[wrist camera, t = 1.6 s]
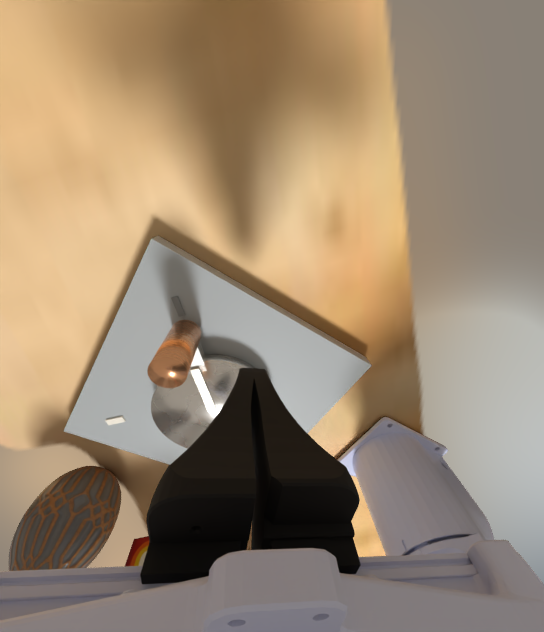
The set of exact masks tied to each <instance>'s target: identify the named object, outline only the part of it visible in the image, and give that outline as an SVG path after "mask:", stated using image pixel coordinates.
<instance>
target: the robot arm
mask: <svg viewBox="0 0 544 632" xmlns="http://www.w3.org/2000/svg"><path fill="white" fill-rule="evenodd" d="M447 451H448V450H447V448H446V447H445V446H443V445H441V444H439V443H438V442H436V441H434V440H432V439H430V438H428V437H426V436H424V435H422V434H420V433H418V432H416V431H414V430H412V429H410V428H408V427H406V426H404V425H402V424H400V423H398V422H396V421H394V420H392V419H390V418H388V417H383V418H381V419H380V420H379V421H378V422H377V423H376V424H375V425H374V426H373V427H372V428H371V429H370V430H369V431H367V432H366V433H365V434H364V435H363V436H362V437H361V438H360V439H359V440H358V441H357V442H356V443H355V444H354V445H353V446H351V447H350V448H349V449H348V450H347V451H346V452H345V453H344V454H343V455H342V456H341V457H340V458H339V459H338V460H337V459H335V458H334V457H333V456H331V455H330V454H329V453H328V452H326V451H325V450H324V449H323V448H322V447H321V446H319V445H318V444H317V443H316V442H315V441H314V440H313V439H312V438H311V437H310V436H309V435H308V434H307V433H306V432H305V431H304V429H303V428H302V427H301V426H300V425H299V424H298V423H297V421H296V420H295V419H294V418H293V416H292V415H291V414H290V412H289V411H288V409H287V408H286V406H285V405H284V403H283V402H282V400H281V399H280V397H279V395H278V394H277V392H276V390H275V388H274V386H273V384H272V382H271V380H270V378H269V376H268V374H267V371H266V370H265V369H258V368H240V369H239V373H238V377H237V380H236V382H235V384H234V387H233V389H232V391H231V393H230V395H229V396H228V398H227V400H226V402H225V403H224V405H223V407H222V408H221V410H220V411H219V413H218V414H217V416H216V417H215V418H214V420H213V421H212V422H211V423H210V425H209V426H208V427H207V428H206V430H205V431H204V432H203V433H202V434H201V435H200V437H199V438H198V439H197V440H196V441H195V442H194V443H193V444H192V445H191V446H190V447H189V448H188V449H187V450H186V451H185V452H184V453H183V454H182V455H180V456H179V457H178V458H177V459H176V460H175V461H174V462H173V463H171V464H170V465H169V466H168V468H167V470H166V471H165V473H164V475H163V477H162V478H161V480H160V482H159V484H158V486H157V488H156V491H155V493H154V495H153V498H152V501H151V504H150V507H149V510H148V513H147V528H148V535H149V546H148V549H147V553H146V556H145V560H144V563H143V566H124V567H101V568H74V569H49V570H24V571H0V632H544V584H543V583H542V581H541V580H540V579H539V578H538V576H537V575H536V574H535V573H534V571H533V570H532V569H531V568H530V566H529V565H528V564H527V563H526V561H525V560H524V559H523V558H522V557H521V555H520V554H518V552H516V551H515V549H514V548H513V547H512V545H511V544H510V543H509V541H507V540H494V537H493V533H492V530H491V527H490V524H489V522H488V520H487V519H486V517H485V515H484V514H483V512H482V511H481V510H480V508H479V507H478V505H477V504H476V503H475V501H474V500H473V499H472V497H471V496H470V495H469V493H468V492H467V491H466V489H465V488H464V486H463V485H462V484H461V482H460V481H459V479H458V478H457V477H456V475H455V474H454V473H453V471H452V470H451V469H450V467H449V466H448V464H447V463H446V462H445V461H444V459H443V458H442V456H443V455H444V454H446V453H447ZM350 475H352V476H355V477H357V479H358V482H359V485H360V487H361V490H362V493H363V495H364V498H365V501H366V503H367V506H368V509H369V511H370V514H371V517H372V519H373V522H374V525H375V527H376V530H377V533H378V535H379V538H380V541H381V543H382V546H383V548H384V551H385V554H386V556H374V557H358V554H357V550H356V547H355V544H354V540H353V537H354V529H353V526H352V523H351V520H352V518H353V516H354V514H355V512H356V509H357V507H358V504H359V495H358V492H357V489H356V487H355V484H354V482H353V480H352V478H351V476H350ZM251 523H252V549H251V550H246V548H247V542H248V540H249V535H250V529H251Z"/></svg>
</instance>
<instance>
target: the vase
mask: <svg viewBox="0 0 544 632" xmlns="http://www.w3.org/2000/svg"><path fill="white" fill-rule="evenodd" d="M120 503H121V490H120V486H119V483H118V481H117V479H116V477H115V476H114V475H113V474H112V473H111V472H110V471H108V470H106V469H104V468H101V467H96V466H85V467H81V468H78V469H75V470H72V471H70V472H68V473H66V474H64V475H62V476H60V477H59V478H57V479H56V480H55V481H53V482H52V483H51V484H50V485H49V486H48V487H47V488H45V489H44V490H43V492H41V493H40V495H39V496H38V497H37V498H36V499H35V501H34V502H33V503H32V505H31V506H30V507H29V509H28V510H27V511H26V513H25V514H24V516H23V518H22V520H21V522H20V523H19V525H18V527H17V530H16V532H15V535H14V537H13V540H12V543H11V547H10V552H9V571H24V570H49V569H74V568H86V567H87V566H88V565H89V564H90V563H91V562H92V561H93V560H94V559H95V557H96V556H97V555H98V554H99V552H100V551H101V549H102V548H103V546H104V545H105V543H106V541H107V540H108V538H109V536H110V534H111V532H112V530H113V528H114V525H115V522H116V520H117V517H118V514H119V509H120Z"/></svg>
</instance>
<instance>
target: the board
mask: <svg viewBox="0 0 544 632" xmlns="http://www.w3.org/2000/svg"><path fill="white" fill-rule="evenodd" d="M180 320H190V321H193V322H194V323H196V324H197V325H198V326H199V327H200V329H201V339H200V341H199V342H200V344H201V347H202V349H203V352H204V354H223V355H229V356H233V357H236V358H239V359H241V360H244V361H246V362H248V363H249V364H251V365H252V366H254V367H255V368H258V369H265V370H266V371H267V374H268V376H269V378H270V380H271V382H272V384H273V386H274V388H275V390H276V392H277V394H278V395H279V397H280V399H281V400H282V402H283V403H284V405H285V406H286V408H287V409H288V411H289V412H290V414H291V415H292V416H293V418H294V419H295V420H296V421H297V423H298V424H299V425H300V426H301V427H302V428H303V429H304V431H305V432H306V433H308V432H309V431H310V430H311V429H312V428H313V427H314V426H315V425H316V424H317V423H318V422H319V421H320V420H321V419H322V417H323V416H324V415H325V414H326V413H327V412H328V411H329V410H330V409H331V408H332V407H333V406H334V405H335V404H336V403H337V402H338V401H339V400H340V399H341V397H342V396H343V395H344V394H345V393H346V392H347V391H348V390H349V389H350V388H351V387H352V386H353V385H354V384H355V383H356V382H357V381H358V380H359V379H360V378H361V376H362V375H363V374H364V373H365V372H366V371H367V370H368V369H369V368H370V367H371V366H372V365H371V364H370V362H369V361H368V359H367V358H366V357H365V356H363V355H362V354H360V353H358V352H357V351H355V350H353V349H351V348H350V347H348V346H346V345H345V344H343V343H341V342H339V341H338V340H336V339H334V338H333V337H331V336H329V335H327V334H326V333H324V332H322V331H321V330H319V329H317V328H315V327H314V326H312V325H310V324H309V323H307V322H305V321H304V320H302V319H300V318H298V317H297V316H295V315H293V314H292V313H290V312H288V311H286V310H285V309H283V308H281V307H280V306H278V305H276V304H274V303H273V302H271V301H269V300H268V299H266V298H264V297H262V296H261V295H259V294H257V293H256V292H254V291H252V290H250V289H249V288H247V287H245V286H244V285H242V284H240V283H238V282H237V281H235V280H233V279H232V278H230V277H228V276H227V275H225V274H223V273H221V272H220V271H218V270H216V269H215V268H213V267H211V266H209V265H208V264H206V263H204V262H203V261H201V260H199V259H197V258H196V257H194V256H192V255H191V254H189V253H187V252H185V251H184V250H182V249H180V248H179V247H177V246H175V245H173V244H172V243H170V242H168V241H167V240H165V239H163V238H161V237H160V236H156V237H154V238H151V240H150V243H149V245H148V247H147V249H146V251H145V254H144V256H143V258H142V260H141V262H140V264H139V267H138V269H137V271H136V273H135V275H134V278H133V280H132V282H131V284H130V286H129V289H128V291H127V293H126V295H125V297H124V300H123V302H122V304H121V306H120V308H119V310H118V313H117V315H116V317H115V319H114V321H113V324H112V326H111V328H110V330H109V332H108V335H107V337H106V339H105V341H104V343H103V346H102V348H101V350H100V352H99V354H98V356H97V359H96V361H95V363H94V365H93V367H92V370H91V372H90V374H89V376H88V378H87V381H86V383H85V385H84V387H83V389H82V392H81V394H80V396H79V398H78V400H77V402H76V405H75V407H74V409H73V411H72V413H71V416H70V418H69V420H68V422H67V424H66V427H65V429H64V432H67V433H70V434H74V435H77V436H80V437H83V438H86V439H89V440H93V441H96V442H99V443H102V444H105V445H109V446H112V447H115V448H118V449H121V450H124V451H128V452H131V453H134V454H137V455H140V456H144V457H147V458H150V459H153V460H156V461H159V462H163V463H166V464H169V465H170V464H171V463H173V462H174V461H175V460H176V459H177V458H178V457H179V456H180V455H182V454H183V453H184V452H185V451H186V450H187V448H185V447H182V446H180V445H178V444H176V443H174V442H173V441H171V440H170V439H168V438H167V437H166V436H165V435H164V434H163V433H162V432H161V431H160V430H159V429H158V427H157V426H156V424H155V422H154V420H153V417H152V414H151V400H152V397H153V394H154V392H155V390H156V388H157V386H158V385H156V384H155V383H153V382H152V381H151V380H150V378H149V376H148V373H147V369H148V366H149V364H150V362H151V361H152V359H153V357H154V356H155V354H156V352H157V351H158V349H159V347H160V346H161V344H162V342H163V341H164V339H165V337H166V336H167V334H168V332H169V331H170V329H171V327H172V326H173V324H174V323H176V322H177V321H180Z"/></svg>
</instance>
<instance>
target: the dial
mask: <svg viewBox="0 0 544 632" xmlns="http://www.w3.org/2000/svg"><path fill="white" fill-rule="evenodd" d="M200 339H201V329H200V327H199V326H198V325H197V324H196V323H194V322H193V321H190V320H180V321H177V322H176V323H174V324H173V326H172V327H171V329H170V331H169V332H168V334H167V336H166V337H165V339H164V341H163V342H162V344H161V346H160V347H159V349H158V351H157V352H156V354H155V356H154V357H153V359H152V361H151V362H150V364H149V366H148V369H147V373H148V376H149V378H150V380H151V381H152V382H153V383H155V384H156V385H158V386H157V388H156V390H155V392H154V394H153V397H152V400H151V414H152V417H153V420H154V422H155V424H156V426H157V427H158V429H159V430H160V431H161V432H162V433H163V434H164V435H165V436H166V437H167V438H168V439H170V440H171V441H173V442H174V443H176V444H178V445H180V446H182V447H185V448H187V449H188V448H189V447H190V446H191V445H192V444H193V443H194V442H195V441H196V440H197V439H198V438H199V437H200V435H201V434H202V433H203V432H204V431H205V430H206V428H207V427H208V426H209V425H210V423H211V422H212V421H213V420H214V418H215V417H216V416H217V414H218V413H219V411H220V410H221V408H222V407H223V405H224V403H225V402H226V400H227V398H228V396H229V395H230V393H231V391H232V389H233V387H234V384H235V382H236V380H237V377H238V373H239V369H240V368H255V367H254V366H252V365H251V364H249V363H248V362H246V361H244V360H241V359H239V358H236V357H233V356H229V355H223V354H204V352H203V349H202V347H201V344H200V342H199V341H200Z"/></svg>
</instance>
